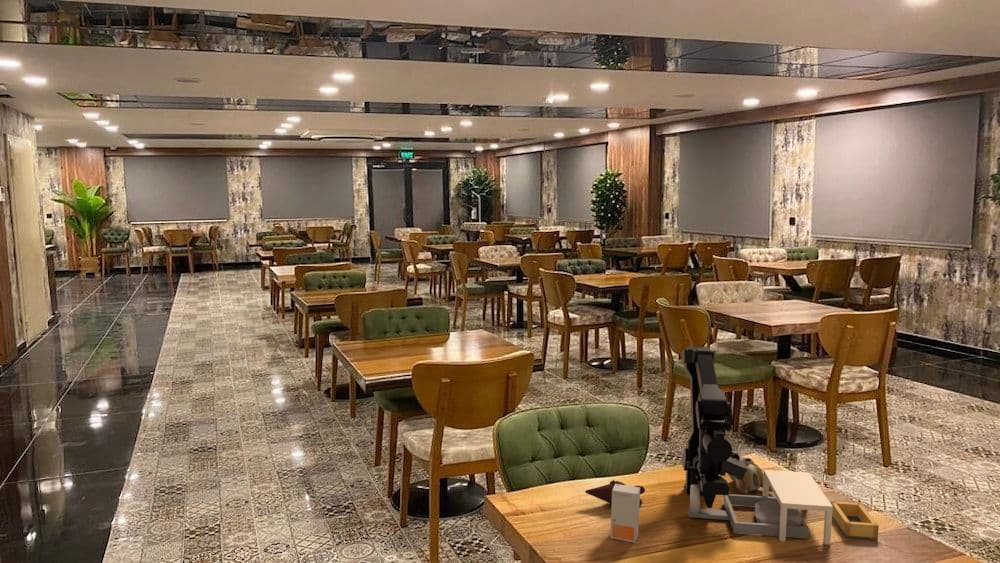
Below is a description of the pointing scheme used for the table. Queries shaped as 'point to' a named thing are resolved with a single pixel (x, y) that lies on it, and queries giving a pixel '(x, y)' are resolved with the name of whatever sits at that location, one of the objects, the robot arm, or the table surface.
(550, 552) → the table surface
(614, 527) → the skincare box
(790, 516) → the stone block
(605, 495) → the icecream
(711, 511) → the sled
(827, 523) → the white miniature table
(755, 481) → the ceramic sculpture
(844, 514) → the tan wooden open box
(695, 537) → the table surface
